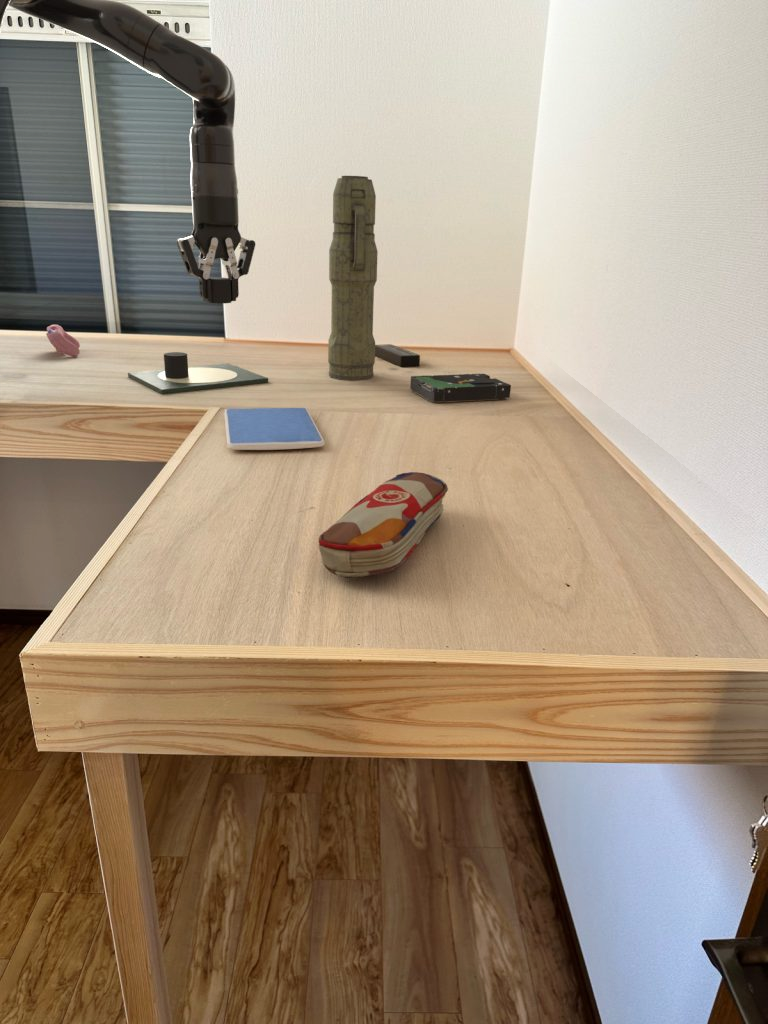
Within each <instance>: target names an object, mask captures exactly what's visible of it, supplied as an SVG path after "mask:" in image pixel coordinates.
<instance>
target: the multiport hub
mask: <svg viewBox="0 0 768 1024" xmlns="http://www.w3.org/2000/svg"><path fill="white" fill-rule="evenodd" d="M376 357H377V359H378V358H379V359H381V360H384V361H385V362H388V363H390V364H393V365H395V366H397V367H399V368H408V367H409V368H411V367H412V368H415V367H420V363H421V362H420V361H421V354H418V353H415V352H413V351H410V350H408V349H404V348H402V347H400V346H397V345H394V344H392V343H391V344H390V343H387V344H386V343H385V344H375V358H376Z"/></svg>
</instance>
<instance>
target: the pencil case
mask: <svg viewBox="0 0 768 1024" xmlns="http://www.w3.org/2000/svg"><path fill="white" fill-rule="evenodd" d="M448 490H449V487H448V484H447V483H446V482H445V481H444V480H442V479H440V478H439V477H436V476H434V475H431V474H429V473H424V472H420V471H419V472H418V471H411V472H402V473H399V474H397V475H395V477H393V478H390V479H388V480H385V481H384V482H382V483H381V484H379V485H378V486H377V487H376V488H375V489H374V490H372V491H371V492H369V493H368V494H366V495H365V496H364V497H363V498H361V499H360V500H358V501H357V502H356V503H355V504H354V505H353V506H352V507H351V508H350V509H349V510H348V511H347V512H345V514H344V515H343V516H342V517H340V518H339V519H338V520H337V521H336V522H335V523H333V524H332V525H331V526H330V527H328V529H326V530H325V531H324V532H322V533H321V534H320V535H319V536H318V549H319V553H320V556H321V563H322V564H323V565H322V566H323V567H324V568H325V569H326V570H328V572H330V573H331V574H333V575H335V576H337V577H345V578H346V579H348V580H349V579H350V580H351V579H357V578H363V577H368V576H373V575H379V574H384V573H388V572H391V571H393V570H396V569H398V568H401V567H402V566H403V565H404V564H405V562H406V561H408V559H409V558H410V556H411V555H412V553H413V552H414V550H415V548H416V547H417V546H418V544H420V543H421V540H422V539H423V537H424V536H425V534H426V533H427V532H428V531H429V529H430V528H431V527H432V526H433V525H434V524H435V523H436V522H437V521H438V520H439V519H440V518H441V516H442V514H443V513H444V504H443V499H444V497H445V496H446V493H447V492H448Z"/></svg>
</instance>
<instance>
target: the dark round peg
mask: <svg viewBox="0 0 768 1024" xmlns="http://www.w3.org/2000/svg"><path fill="white" fill-rule="evenodd" d="M163 363H164V364H163V365H164V369H165V377H166V378H170V379H182V378H187V377H188V376H189V374H188V367H189V359H188V353H186V352H182V351H181V352H179V351H173V352H171V351H170V352H165V353H163Z"/></svg>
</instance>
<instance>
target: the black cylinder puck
mask: <svg viewBox="0 0 768 1024" xmlns="http://www.w3.org/2000/svg"><path fill="white" fill-rule="evenodd" d="M209 280H211V292H212V302H208V304H209V303H210V304H231V303H232V301H231V279H230V278H228V277H219V276H218V277H215V276H213V277H209Z"/></svg>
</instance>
